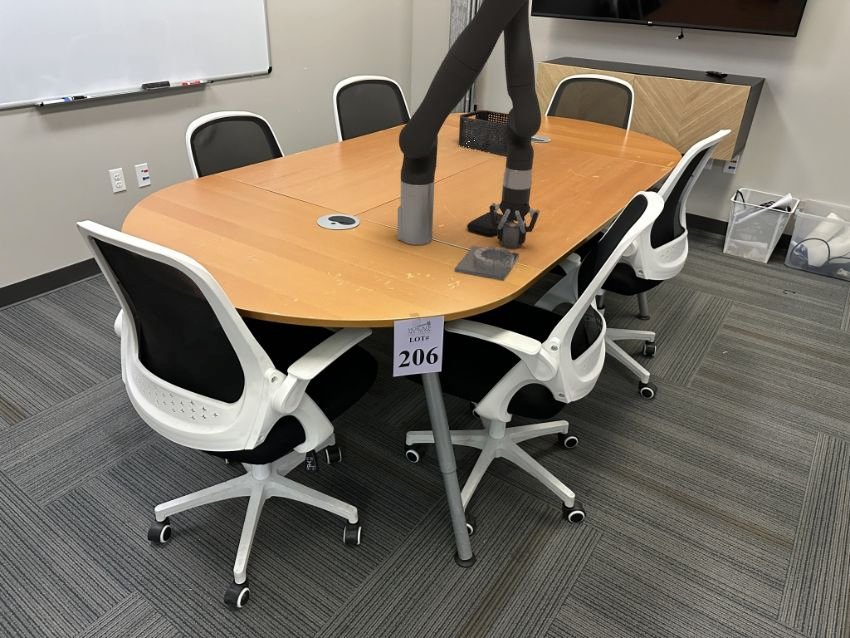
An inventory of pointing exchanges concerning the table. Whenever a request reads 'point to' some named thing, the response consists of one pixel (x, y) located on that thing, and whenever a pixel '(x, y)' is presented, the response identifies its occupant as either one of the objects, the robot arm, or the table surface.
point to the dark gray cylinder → (511, 235)
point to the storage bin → (484, 131)
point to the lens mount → (487, 262)
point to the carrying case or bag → (485, 225)
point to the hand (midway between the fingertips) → (510, 242)
